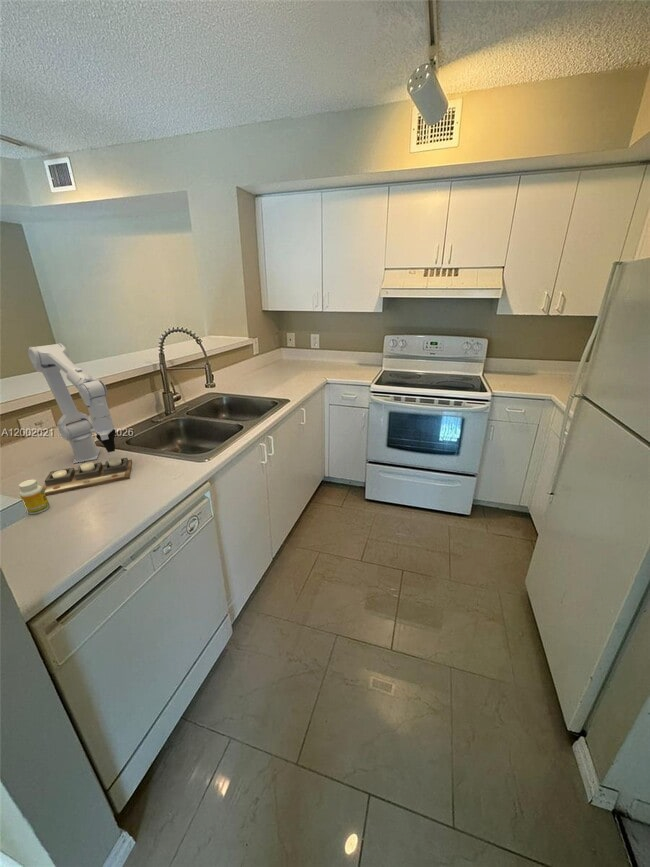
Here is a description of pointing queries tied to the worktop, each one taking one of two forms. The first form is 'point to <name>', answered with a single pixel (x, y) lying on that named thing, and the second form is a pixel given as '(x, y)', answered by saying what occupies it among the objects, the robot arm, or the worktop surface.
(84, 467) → the button middle
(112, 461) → the button right
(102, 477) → the board
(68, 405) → the robot arm
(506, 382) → the worktop surface
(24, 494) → the supplement bottle
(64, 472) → the button left
